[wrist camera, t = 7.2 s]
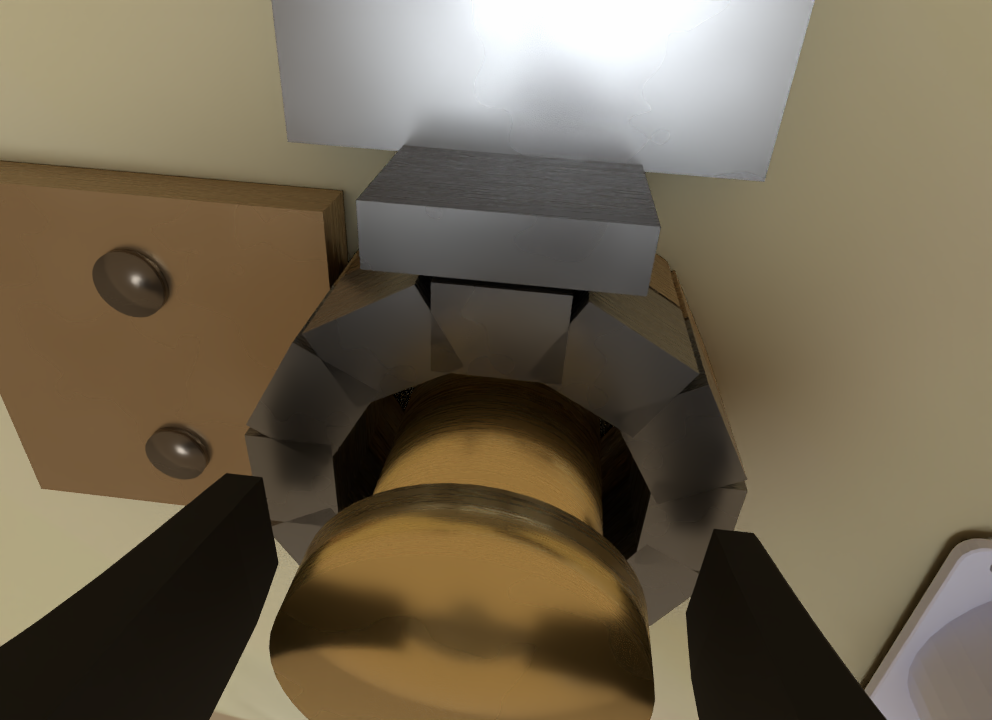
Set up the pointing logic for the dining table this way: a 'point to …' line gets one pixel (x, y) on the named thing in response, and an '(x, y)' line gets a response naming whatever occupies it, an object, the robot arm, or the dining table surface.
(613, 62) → the dark piece
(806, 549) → the dining table surface
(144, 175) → the brown riveted plate
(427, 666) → the pin
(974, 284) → the dining table surface
